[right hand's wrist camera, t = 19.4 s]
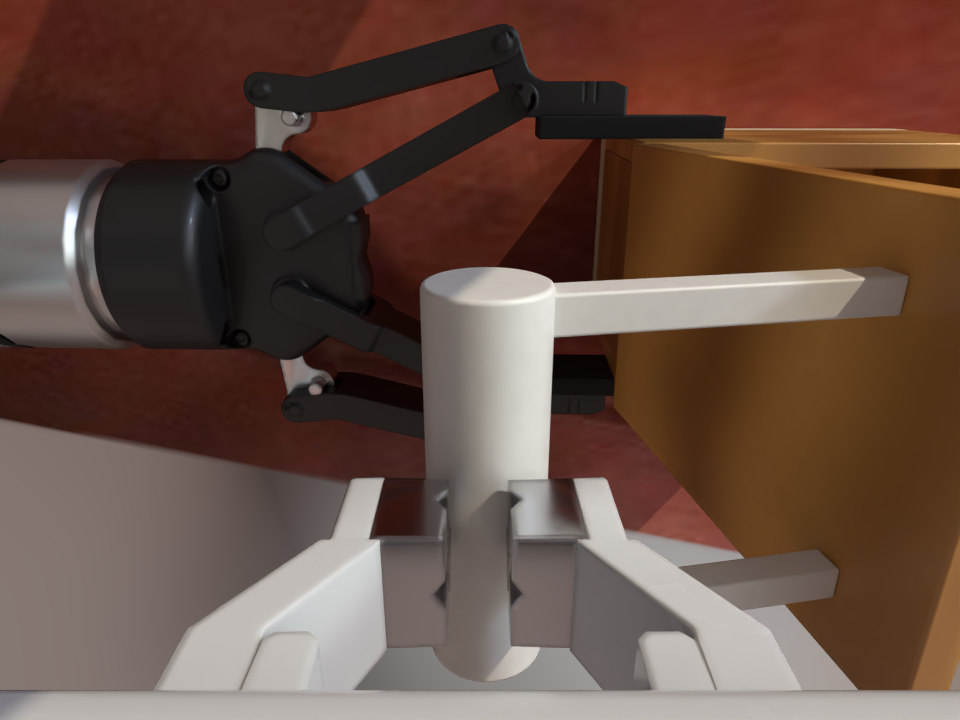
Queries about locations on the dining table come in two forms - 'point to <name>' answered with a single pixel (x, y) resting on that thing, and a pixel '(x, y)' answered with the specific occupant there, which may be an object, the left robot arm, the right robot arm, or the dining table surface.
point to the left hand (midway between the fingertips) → (697, 259)
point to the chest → (835, 149)
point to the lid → (736, 401)
